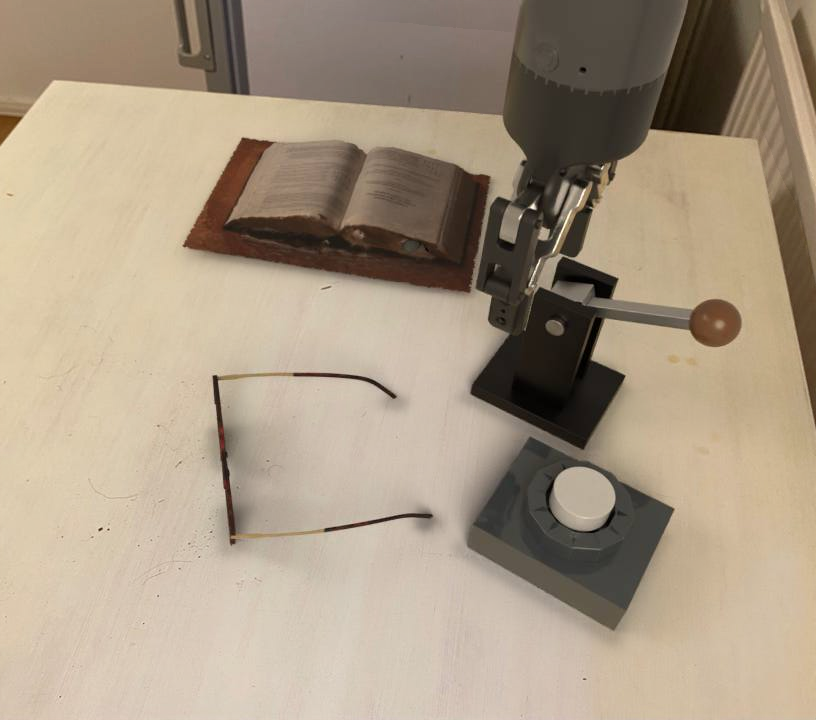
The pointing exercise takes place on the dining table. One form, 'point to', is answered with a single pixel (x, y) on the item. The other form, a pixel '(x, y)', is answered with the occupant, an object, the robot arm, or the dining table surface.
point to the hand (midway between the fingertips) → (535, 287)
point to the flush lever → (663, 314)
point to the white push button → (582, 499)
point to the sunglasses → (227, 474)
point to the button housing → (569, 536)
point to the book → (346, 211)
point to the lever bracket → (555, 363)
